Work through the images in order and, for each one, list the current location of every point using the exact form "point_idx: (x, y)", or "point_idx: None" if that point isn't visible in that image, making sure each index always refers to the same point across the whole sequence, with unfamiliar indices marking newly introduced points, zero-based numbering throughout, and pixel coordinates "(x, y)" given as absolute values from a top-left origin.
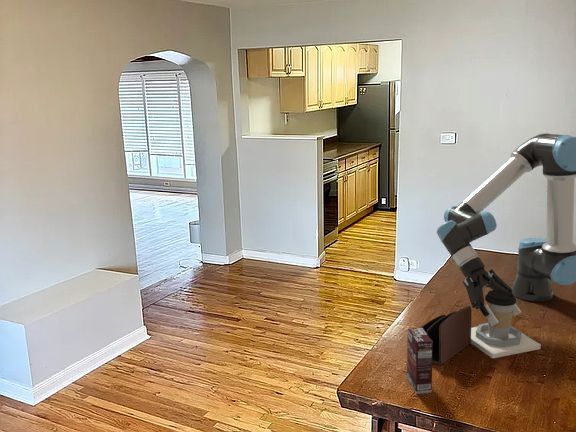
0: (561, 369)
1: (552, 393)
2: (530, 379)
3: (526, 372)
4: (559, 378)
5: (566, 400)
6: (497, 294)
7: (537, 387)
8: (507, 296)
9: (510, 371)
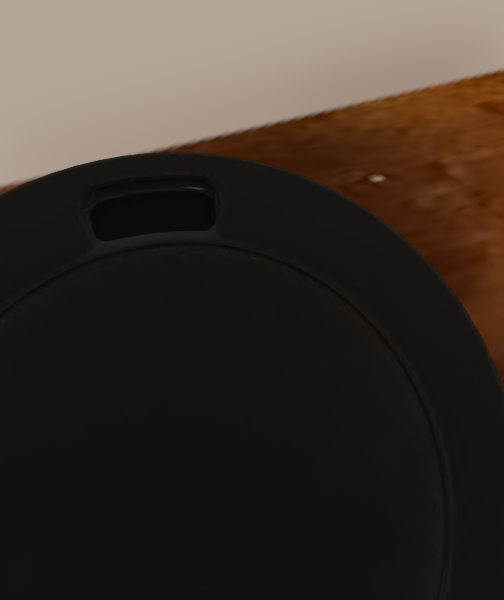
0: (275, 151)
1: (472, 123)
2: (458, 200)
3: (421, 230)
4: (352, 137)
5: (468, 88)
6: (207, 491)
7: (485, 165)
8: (199, 233)
9: (478, 280)
